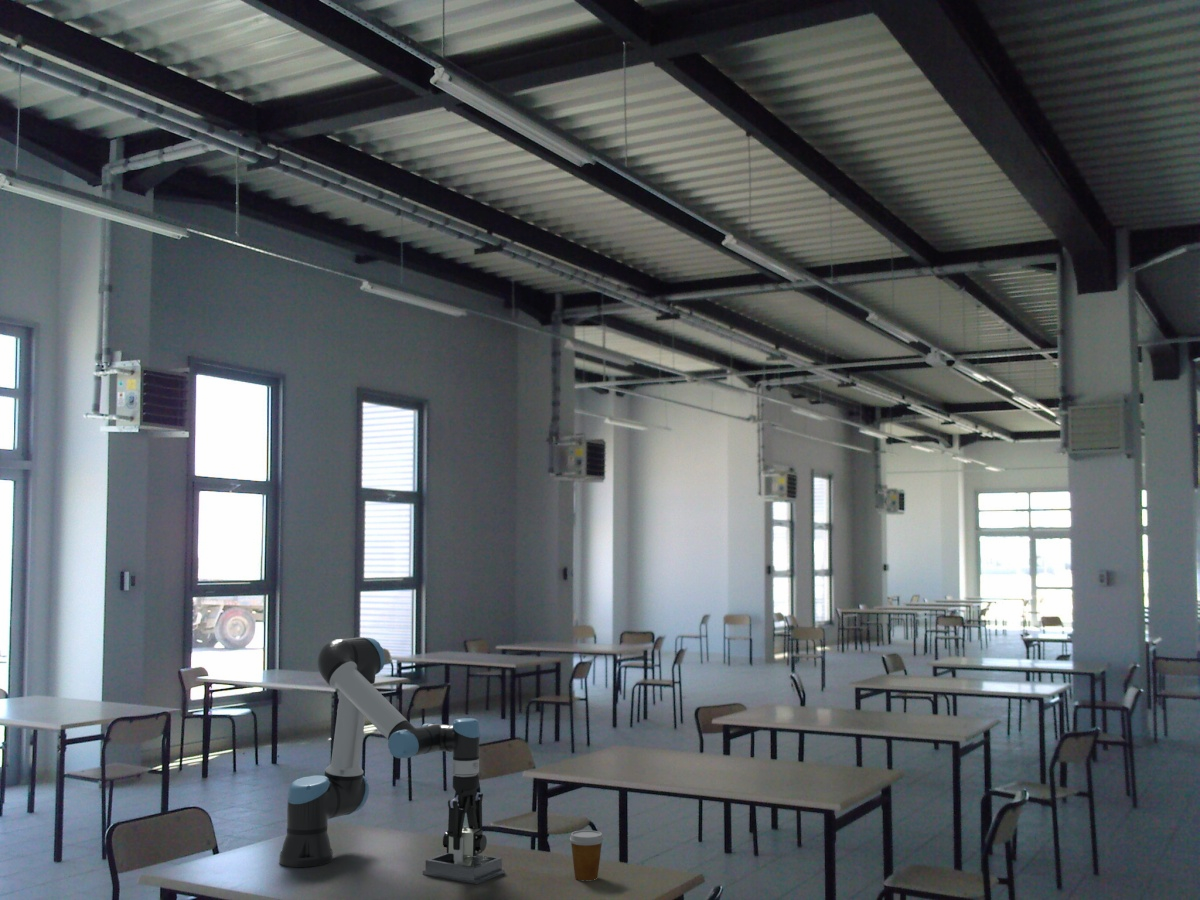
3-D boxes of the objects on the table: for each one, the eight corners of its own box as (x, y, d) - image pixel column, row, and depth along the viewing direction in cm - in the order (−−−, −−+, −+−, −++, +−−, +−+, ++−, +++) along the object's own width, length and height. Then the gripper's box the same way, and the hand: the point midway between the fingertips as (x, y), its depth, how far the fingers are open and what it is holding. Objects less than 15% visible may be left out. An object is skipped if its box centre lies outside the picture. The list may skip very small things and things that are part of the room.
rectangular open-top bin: (422, 874, 301) (422, 859, 302) (451, 863, 312) (451, 849, 313) (477, 884, 292) (477, 869, 292) (504, 873, 303) (504, 858, 303)
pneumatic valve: (479, 874, 298) (480, 829, 299) (441, 870, 302) (442, 826, 303) (487, 869, 303) (488, 825, 304) (450, 865, 307) (451, 822, 308)
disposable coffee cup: (596, 884, 292) (596, 839, 294) (564, 881, 295) (564, 836, 297) (608, 875, 301) (608, 831, 302) (576, 872, 304) (576, 828, 306)
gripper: (456, 780, 295) (455, 868, 293) (495, 770, 311) (495, 853, 309) (435, 778, 299) (433, 864, 296) (474, 768, 315) (474, 850, 312)
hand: (465, 858), depth 302 cm, fingers closed on pneumatic valve, 5 cm apart
